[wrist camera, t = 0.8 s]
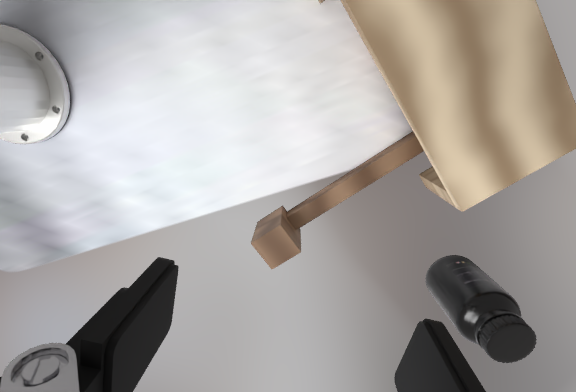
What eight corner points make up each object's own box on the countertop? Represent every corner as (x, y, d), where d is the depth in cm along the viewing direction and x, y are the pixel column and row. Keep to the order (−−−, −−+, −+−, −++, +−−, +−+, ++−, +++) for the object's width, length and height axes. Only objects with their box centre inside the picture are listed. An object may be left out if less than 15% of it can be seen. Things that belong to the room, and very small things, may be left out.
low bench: (426, 187, 36) (462, 211, 28) (309, -16, 30) (314, -56, 22) (521, 131, 34) (589, 140, 26) (417, -103, 27) (465, -183, 20)
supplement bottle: (470, 296, 41) (537, 373, 29) (420, 296, 41) (468, 371, 30) (480, 253, 39) (557, 317, 27) (427, 252, 39) (482, 315, 27)
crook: (275, 244, 39) (271, 269, 33) (233, 191, 37) (222, 208, 31) (457, 132, 34) (490, 138, 28) (422, 62, 32) (449, 54, 26)
